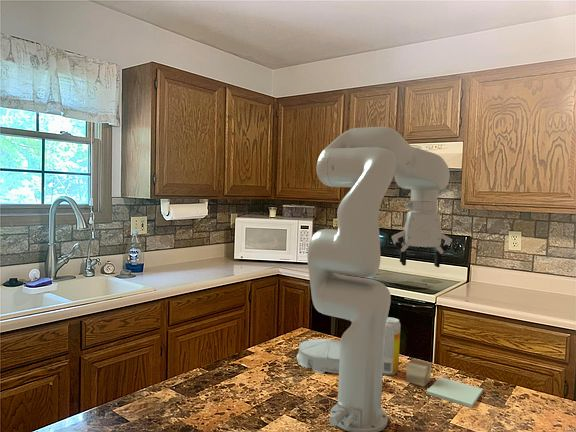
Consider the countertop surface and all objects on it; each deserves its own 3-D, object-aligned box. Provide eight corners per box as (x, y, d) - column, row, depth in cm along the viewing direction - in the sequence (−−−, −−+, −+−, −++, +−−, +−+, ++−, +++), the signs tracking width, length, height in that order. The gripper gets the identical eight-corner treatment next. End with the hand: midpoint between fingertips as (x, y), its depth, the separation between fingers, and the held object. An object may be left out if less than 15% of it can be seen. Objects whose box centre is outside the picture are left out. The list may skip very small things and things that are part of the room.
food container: (281, 363, 130) (282, 340, 129) (318, 344, 146) (319, 324, 145) (340, 383, 118) (341, 359, 117) (373, 360, 134) (374, 339, 133)
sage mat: (471, 407, 105) (471, 404, 105) (426, 393, 112) (426, 390, 112) (482, 391, 114) (483, 388, 114) (440, 379, 121) (440, 377, 121)
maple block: (424, 386, 116) (424, 368, 116) (405, 381, 119) (406, 363, 119) (430, 380, 120) (431, 362, 120) (412, 375, 123) (413, 358, 123)
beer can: (396, 368, 128) (398, 317, 127) (399, 376, 122) (402, 323, 121) (375, 366, 128) (377, 316, 127) (377, 375, 122) (379, 322, 121)
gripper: (395, 206, 126) (392, 266, 126) (457, 209, 125) (454, 269, 125) (391, 206, 133) (388, 262, 134) (449, 208, 132) (446, 265, 133)
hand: (420, 265), depth 130 cm, fingers open, 9 cm apart
